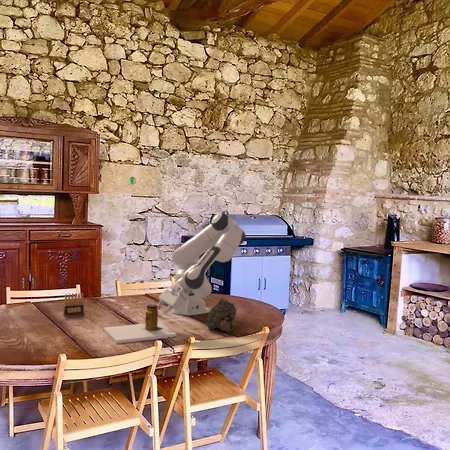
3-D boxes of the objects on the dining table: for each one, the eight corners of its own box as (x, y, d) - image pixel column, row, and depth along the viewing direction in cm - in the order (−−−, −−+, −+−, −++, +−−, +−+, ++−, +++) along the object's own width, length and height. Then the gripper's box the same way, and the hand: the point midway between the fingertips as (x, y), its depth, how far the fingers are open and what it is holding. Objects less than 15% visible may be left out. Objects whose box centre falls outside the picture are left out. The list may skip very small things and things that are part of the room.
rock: (214, 293, 260) (234, 293, 249) (229, 310, 266) (249, 311, 255) (197, 320, 250) (217, 321, 239) (212, 337, 256) (232, 339, 245)
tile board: (159, 324, 255) (160, 322, 255) (176, 336, 236) (176, 333, 235) (103, 330, 240) (103, 327, 240) (116, 343, 221) (116, 340, 221)
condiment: (141, 328, 241) (142, 305, 240) (154, 325, 248) (155, 302, 247) (150, 331, 237) (151, 307, 236) (164, 328, 243) (164, 305, 242)
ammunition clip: (64, 315, 265) (64, 293, 264) (63, 314, 266) (63, 293, 265) (83, 313, 270) (84, 292, 269) (83, 312, 272) (83, 291, 271)
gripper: (167, 282, 256) (149, 302, 252) (183, 290, 238) (163, 311, 234) (175, 290, 258) (157, 309, 254) (191, 298, 240) (172, 319, 236)
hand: (160, 310), depth 244 cm, fingers open, 8 cm apart
